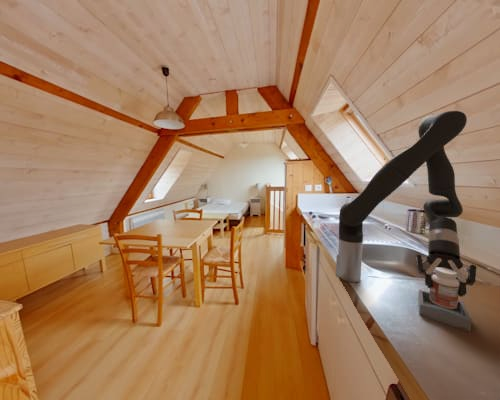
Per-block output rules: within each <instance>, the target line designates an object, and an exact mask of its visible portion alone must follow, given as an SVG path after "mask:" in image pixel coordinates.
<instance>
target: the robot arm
mask: <svg viewBox="0 0 500 400" xmlns="http://www.w3.org/2000/svg"><path fill="white" fill-rule="evenodd" d="M467 121H468V119H467V115H466V113H464V112H463V111H459V110H447V111H444V112H439V113H435V114H430V115H428V116H426V117H424V118H423V119H422V120H421V122H420V123H419V125H418V129H417V130H418V136H419V139H418V140H417V141H416V142H415V143H414V144H412V145H411V146H409V147H408V148H406V149H404V150H403V151H401V152H400V153H398V154H397V155H395V156H393V157H392V158H390V159H389V160H388V161H387V162H386V163H385V164H384V165H382V167H381V168H380V169H379V170H378V171H377V172H376V173H375V174H374V175H373V177H372V178H371V179H370V180H369V182H368V184H367V185H366V186H365V188H364V189H363V191H362V192H361V193H360V194H359V195H358V196H356V198H354V199H353V200H351V202H347V203H345V204H343V205H342V206H341V207H340V209H339V218H338V219H339V221H338V245H337V246H338V250H337V255H336V261H335V262H336V263H335V277H337V278H339V279H340V280H343V281H345V282H349V283H358V282H360V281H361V277H362V258H363V244H364V234H363V233H364V230H363V224H364V223H363V222H364V221H365V220H366V219H367V218H368V217H369V215H370V214H371V213H372V212H373V211H374V210H375V208H376V207H378V205H380V204H381V202H383V201H384V200H385V199H386V198H388V197H389V196H390V195H391V194H392V193H394V192H395V191H396V190H398V188H399V187H401V186H402V185H403V184H404V183H405V182H406V181H407V180H408V179H409V178H410V177H411V176H412V175H413V174H414V173H415V172H416V171H417V170H418V169H419V168H420V167H421V166H423V165H424V164H426V168H427V169H426V170H427V183H428V193H429V194H431V195H433V196H438V197H443V199H428V200H426V201H425V202H424V204H423V211H424V214H425V216H426V217H427V220H428V225H429V228H428V229H429V233H428V234H429V235H428V241H427V243H428V246H427V247H428V248H427V249H428V252H427V253H428V255H427V256H422V255H421V254H417V255H416V266H417V273H418V274H420V275H423V276H424V285H425V286H427V288H428V289H430V288H431V276H432V275H433V274H435V268H436V267H443V268H447V269H451V270H453V271H455V272H456V273H457V277H456V278H455V279H457V280H458V282H459V294H458V297H462V298H463V297H464V296H465V295H466V294H467V286H473V285H474V284H475V283H476V276H477V265H475V264H466V263H463V262H462V260H461V250H460V240H459V237H458V226H457V225H458V224H457V222H456V221H455V220H454V219H452V218H458V217H460V216H461V215H462V214H463V206H462V203H461V201H460V199H459V197H458V195H457V192H456V179H455V178H456V177H455V175H456V174H455V171H454V168H453V165H452V163H451V162H450V160H449V158H448V155H447V153H446V149H445V146H446V145H448V144H449V143H451V141H453V140H454V139H455V138H456V137H458V136H459V134H460V133H461V132H462V131H463V130H464V128H465V127H466V125H467ZM444 198H446V199H444ZM425 261H426V262H427V263H428V264H429V265H430V266H429V268H427V269H424V266H423V264H424V263H425ZM462 268H463V269H464V272H466V273H467V278H465V277H464V276H463V274H462V272H461V271H460V269H462Z"/></svg>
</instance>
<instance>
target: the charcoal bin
mask: <svg viewBox="0 0 500 400" xmlns="http://www.w3.org/2000/svg"><path fill="white" fill-rule="evenodd" d="M429 297H430V291H429V292H428V291H425V290H422V289H418V296H417V301H418V312H419V315H420V316H422V317H426V318H429V319H432V320H435V321H437V322H440V323H443V324H446V325H449V326H451V327H454V328H457V329H460V330H463V331H465V332H469V333H471V328H472V318H471V316H470V313H469V311H468V309H467V308H466V305H465V303H464V301H461V300H458V304H457V308H455V309H448V308H444V307H441V306H438V305H436V304H435V303H433V302H432V301H431V300H430V298H429Z"/></svg>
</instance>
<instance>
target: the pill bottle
mask: <svg viewBox="0 0 500 400" xmlns="http://www.w3.org/2000/svg"><path fill="white" fill-rule="evenodd" d="M456 277H457V273H456V272H455V271H453V270H451V269H447V268H443V267H436V268H435V272H434V273H432V275H431V288H429V292H430V297H429V298H430V300H431V301H432V302H433V303H435V304H436V305H438V306H441V307H444V308H448V309H455V308H457V304H458V301H459V282H458V280H457V279H455V278H456Z"/></svg>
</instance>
